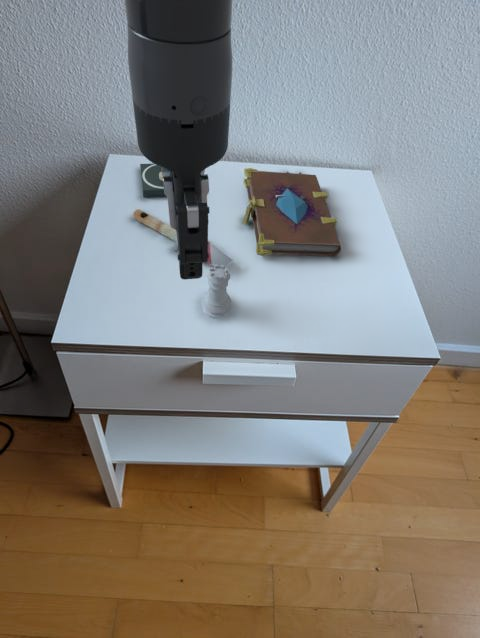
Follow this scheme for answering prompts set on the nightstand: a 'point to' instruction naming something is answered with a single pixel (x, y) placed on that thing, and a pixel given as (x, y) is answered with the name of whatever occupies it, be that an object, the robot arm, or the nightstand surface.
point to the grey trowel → (214, 253)
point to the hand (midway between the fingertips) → (186, 247)
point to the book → (290, 214)
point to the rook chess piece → (217, 292)
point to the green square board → (151, 180)
